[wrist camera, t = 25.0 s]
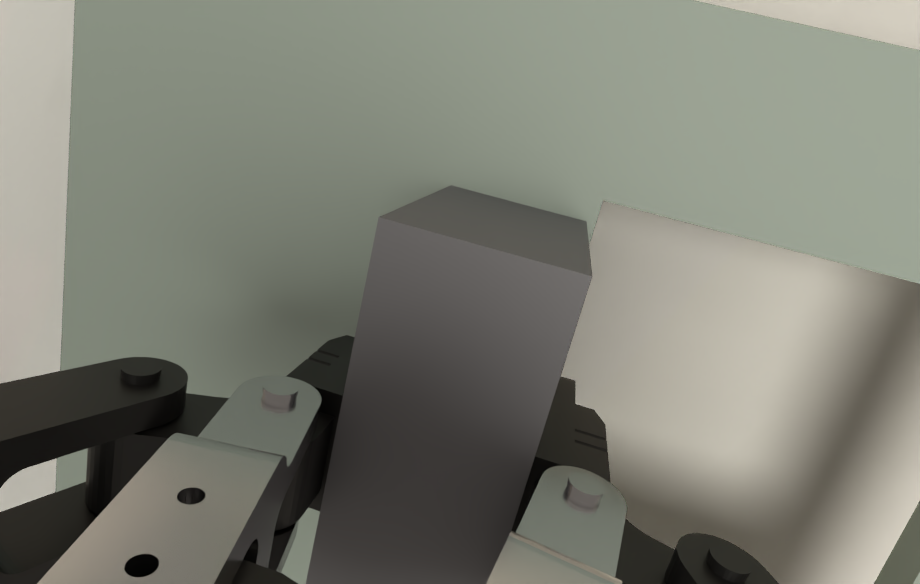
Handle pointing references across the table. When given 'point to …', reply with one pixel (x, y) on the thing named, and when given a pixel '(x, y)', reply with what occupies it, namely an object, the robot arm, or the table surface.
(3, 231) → the table surface
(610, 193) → the lid
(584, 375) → the table surface
